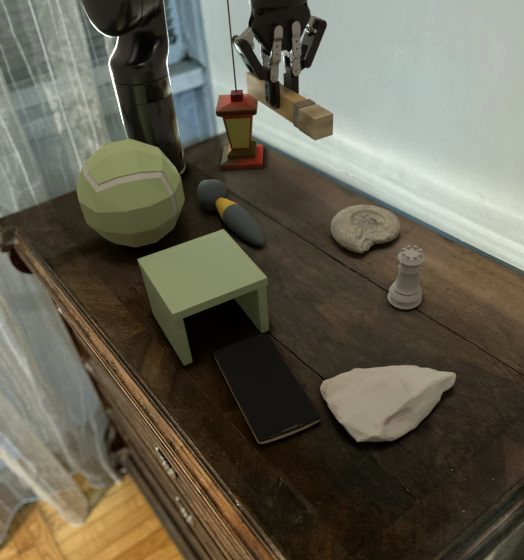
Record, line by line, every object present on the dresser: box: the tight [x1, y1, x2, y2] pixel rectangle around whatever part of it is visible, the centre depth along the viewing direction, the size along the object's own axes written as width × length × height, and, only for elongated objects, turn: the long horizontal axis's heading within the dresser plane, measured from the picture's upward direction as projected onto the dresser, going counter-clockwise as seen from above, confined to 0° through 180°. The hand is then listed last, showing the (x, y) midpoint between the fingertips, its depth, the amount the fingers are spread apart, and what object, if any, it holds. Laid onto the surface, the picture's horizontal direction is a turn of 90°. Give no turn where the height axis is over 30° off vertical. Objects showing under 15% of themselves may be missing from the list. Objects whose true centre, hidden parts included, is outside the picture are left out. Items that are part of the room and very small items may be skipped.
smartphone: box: [213, 332, 322, 445], centre depth 64 cm, size 7×1×15 cm
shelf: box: [136, 228, 270, 366], centre depth 70 cm, size 12×12×9 cm
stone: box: [319, 364, 457, 443], centre depth 60 cm, size 11×4×15 cm
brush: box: [245, 71, 334, 141], centre depth 77 cm, size 20×3×3 cm, turn 29°
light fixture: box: [215, 0, 265, 170], centre depth 93 cm, size 8×8×30 cm
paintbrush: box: [196, 178, 266, 247], centre depth 87 cm, size 20×5×5 cm, turn 38°
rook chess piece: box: [387, 244, 425, 311], centre depth 71 cm, size 4×4×8 cm
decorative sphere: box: [75, 138, 186, 248], centre depth 82 cm, size 15×15×15 cm
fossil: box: [330, 204, 401, 255], centre depth 83 cm, size 11×4×10 cm
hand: (282, 104), depth 78 cm, fingers closed on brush, 2 cm apart
